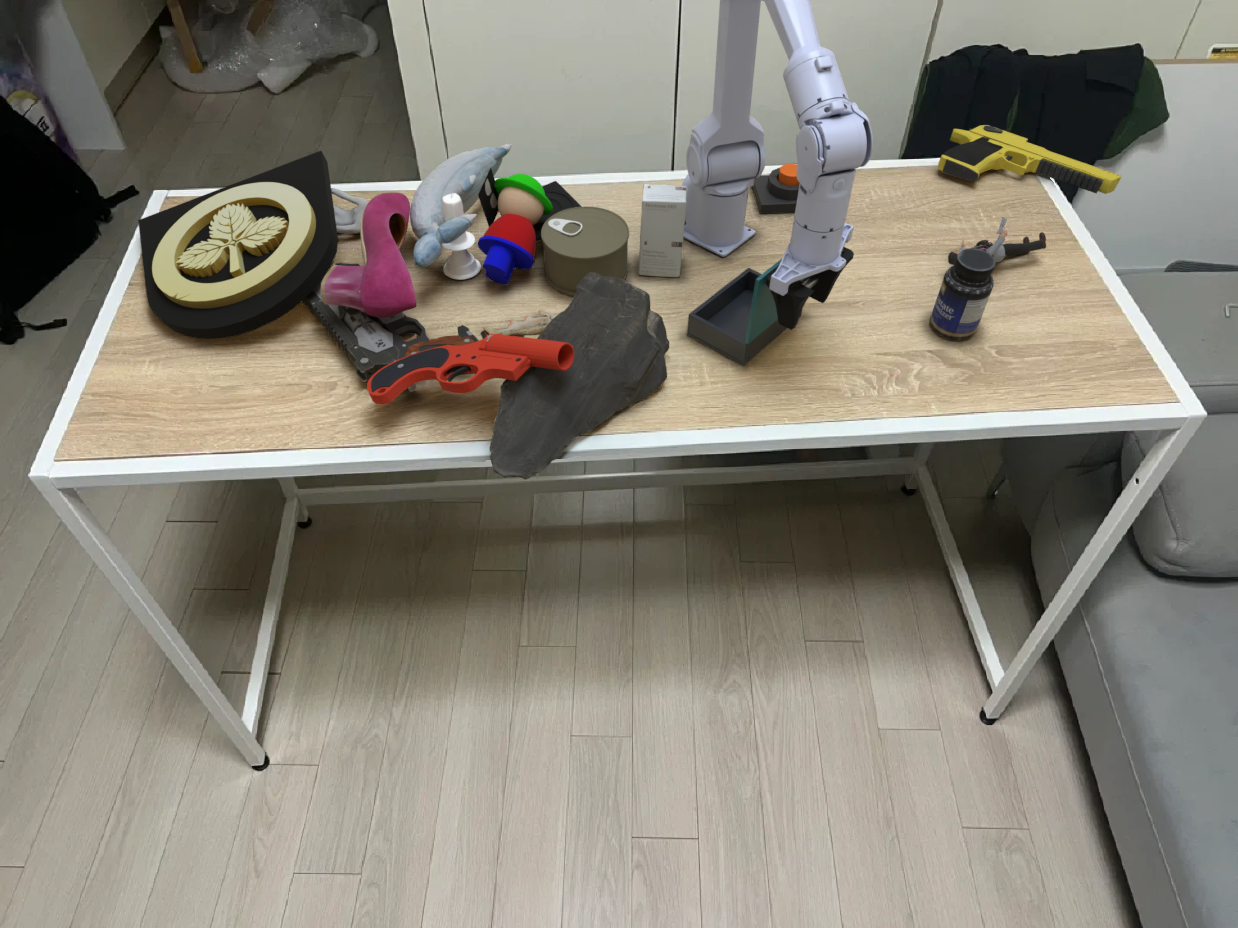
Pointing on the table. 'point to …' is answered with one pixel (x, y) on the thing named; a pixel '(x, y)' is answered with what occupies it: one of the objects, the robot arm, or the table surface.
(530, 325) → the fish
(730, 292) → the dark gray box base
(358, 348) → the fictional weapon
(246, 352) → the table surface
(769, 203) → the block
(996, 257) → the action figure
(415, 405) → the table surface
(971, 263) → the pill bottle
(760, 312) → the teal flat panel
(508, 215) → the toy figure
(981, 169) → the handgun
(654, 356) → the stone
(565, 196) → the light switch
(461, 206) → the candle
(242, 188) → the decorative plaque
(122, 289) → the table surface
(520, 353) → the flare gun
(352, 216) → the figurine
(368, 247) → the high heel
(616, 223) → the can
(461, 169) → the sculpture
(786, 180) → the button
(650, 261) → the cosmetic box
